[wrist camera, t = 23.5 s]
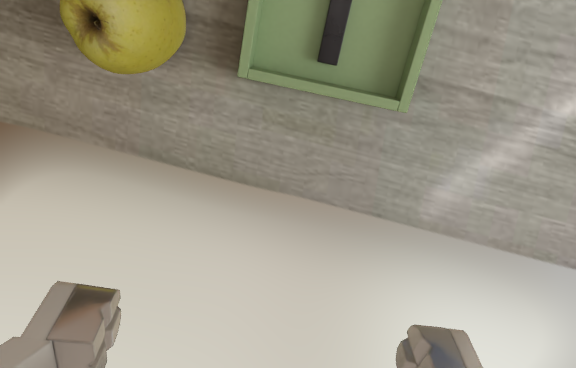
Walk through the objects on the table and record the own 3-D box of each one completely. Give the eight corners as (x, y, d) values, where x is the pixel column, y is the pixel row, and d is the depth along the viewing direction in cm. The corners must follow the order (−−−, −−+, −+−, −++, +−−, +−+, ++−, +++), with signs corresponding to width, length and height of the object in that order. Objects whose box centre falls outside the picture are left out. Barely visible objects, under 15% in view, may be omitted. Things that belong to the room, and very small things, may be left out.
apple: (197, -52, 29) (141, -23, 21) (200, 54, 34) (156, 108, 26) (93, -68, 29) (-1, -45, 21) (111, 39, 34) (41, 89, 26)
